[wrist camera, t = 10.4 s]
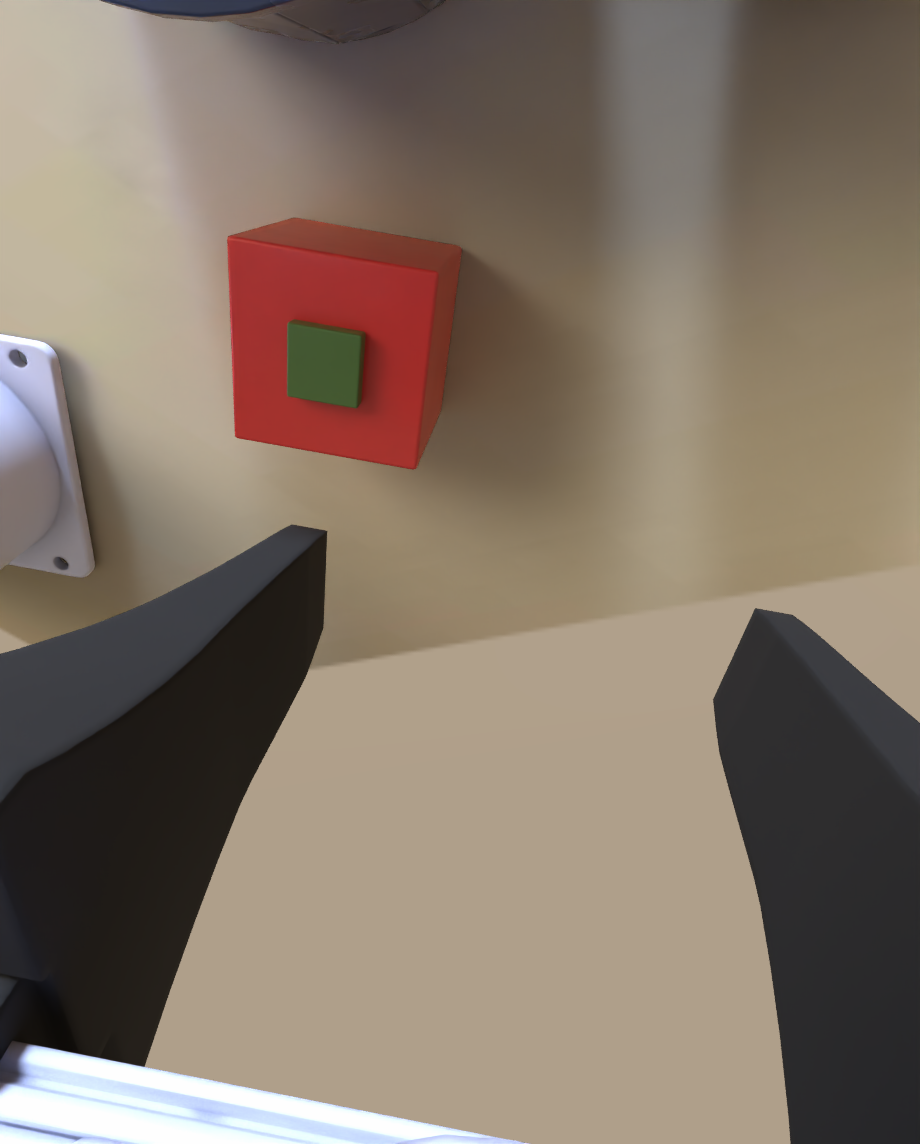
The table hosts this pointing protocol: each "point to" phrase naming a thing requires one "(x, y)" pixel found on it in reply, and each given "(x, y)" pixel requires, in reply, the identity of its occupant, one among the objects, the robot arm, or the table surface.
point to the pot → (341, 19)
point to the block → (340, 338)
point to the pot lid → (209, 8)
